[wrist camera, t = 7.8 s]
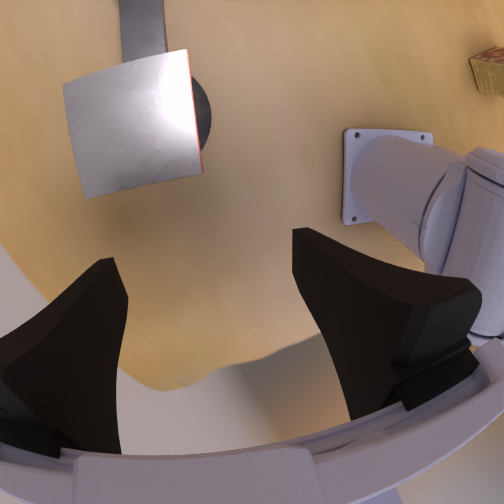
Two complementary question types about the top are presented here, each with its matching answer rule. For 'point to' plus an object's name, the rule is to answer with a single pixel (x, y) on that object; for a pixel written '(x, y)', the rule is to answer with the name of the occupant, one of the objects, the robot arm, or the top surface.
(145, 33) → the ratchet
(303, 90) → the top surface
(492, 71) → the candy box
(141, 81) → the red-striped grey block
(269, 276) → the top surface
